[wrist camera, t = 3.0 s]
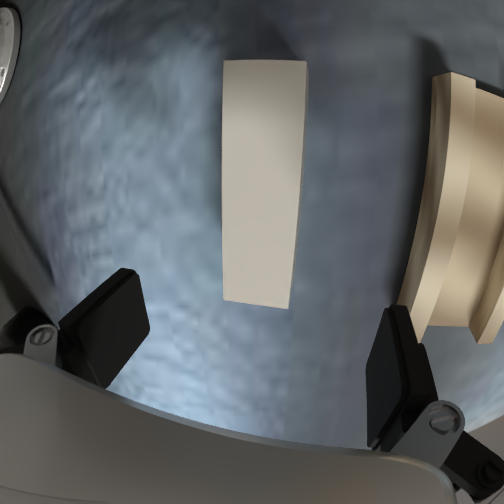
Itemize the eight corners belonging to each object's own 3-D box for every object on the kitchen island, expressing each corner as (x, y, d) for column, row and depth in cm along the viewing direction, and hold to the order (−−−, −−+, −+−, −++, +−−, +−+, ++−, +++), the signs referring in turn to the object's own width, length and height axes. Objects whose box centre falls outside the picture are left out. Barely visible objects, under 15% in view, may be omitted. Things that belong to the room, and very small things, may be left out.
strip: (247, 73, 15) (223, 60, 11) (309, 75, 14) (306, 61, 10) (242, 261, 20) (223, 299, 16) (295, 268, 19) (287, 309, 16)
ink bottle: (39, 350, 34) (-6, 401, 24) (14, 301, 30) (-42, 351, 20) (80, 365, 32) (31, 430, 21) (52, 310, 28) (-13, 376, 18)
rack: (431, 77, 12) (451, 71, 10) (529, 112, 11) (554, 115, 8) (392, 316, 19) (399, 342, 17) (479, 320, 18) (491, 343, 15)
